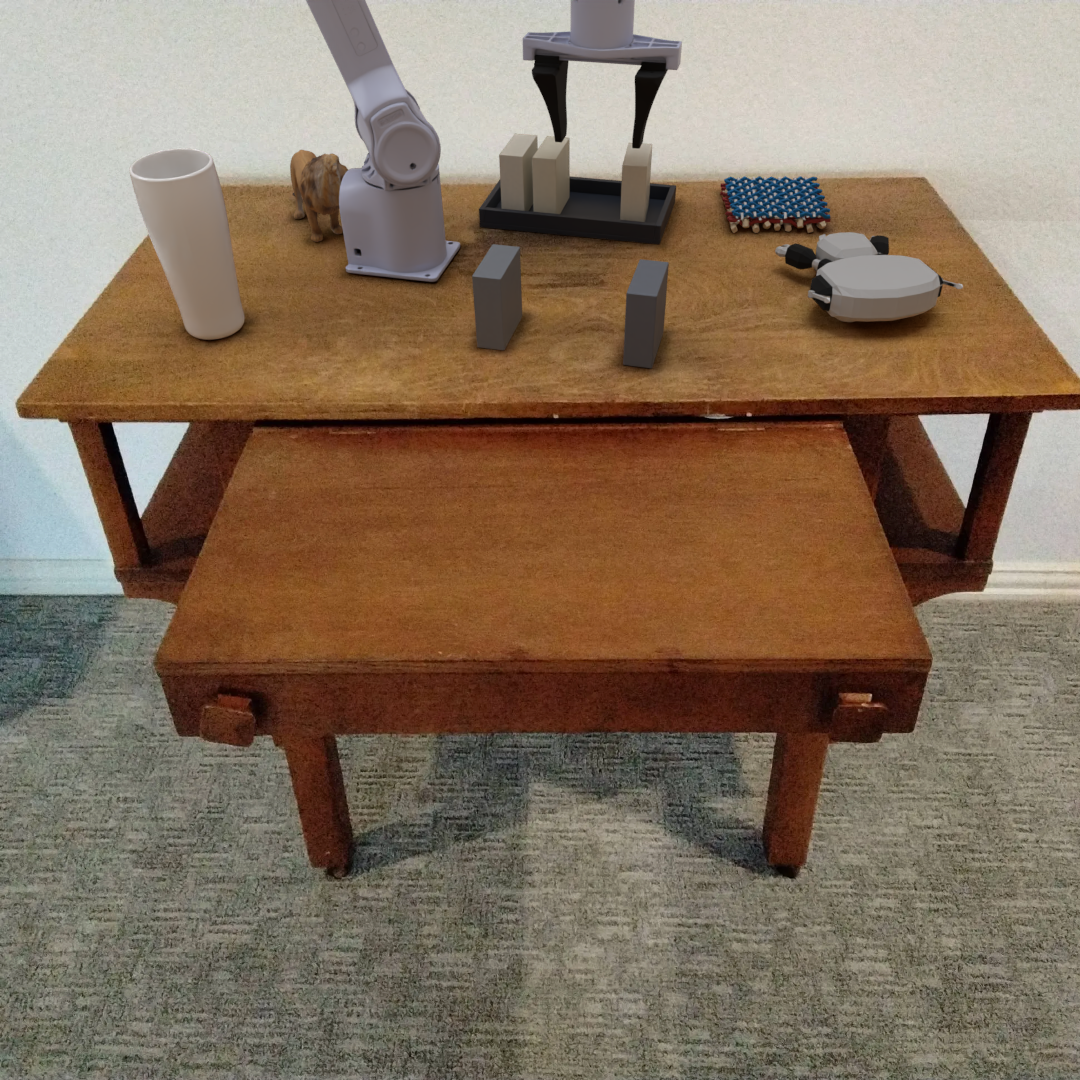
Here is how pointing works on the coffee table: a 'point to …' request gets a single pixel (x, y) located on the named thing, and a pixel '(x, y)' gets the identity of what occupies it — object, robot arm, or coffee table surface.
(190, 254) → the drinking glass
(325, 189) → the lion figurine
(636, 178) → the cream rectangular block
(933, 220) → the coffee table surface
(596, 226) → the tray
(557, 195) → the cream books on tray
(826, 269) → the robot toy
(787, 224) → the woven mat
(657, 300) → the grey books
